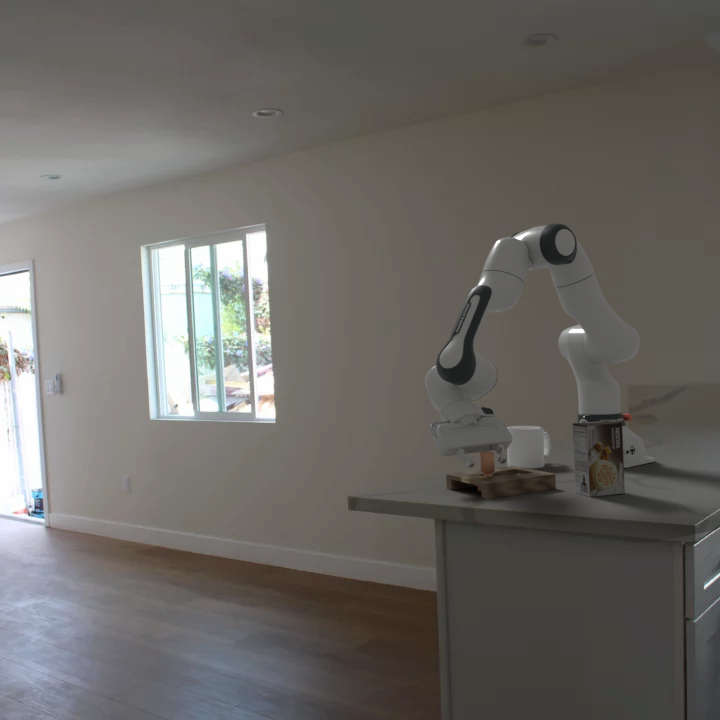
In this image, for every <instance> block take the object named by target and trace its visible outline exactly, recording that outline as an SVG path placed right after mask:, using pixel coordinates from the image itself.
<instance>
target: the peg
mask: <svg viewBox="0 0 720 720" xmlns="http://www.w3.org/2000/svg"><path fill="white" fill-rule="evenodd" d="M479 453H480V470H481V472H483V476H485V477H492V476H493V472H495V468H496V467H495V466H496V465H495V451H486V452H479ZM477 491H478V492H480V493H482V491H481V486H477Z"/></svg>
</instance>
